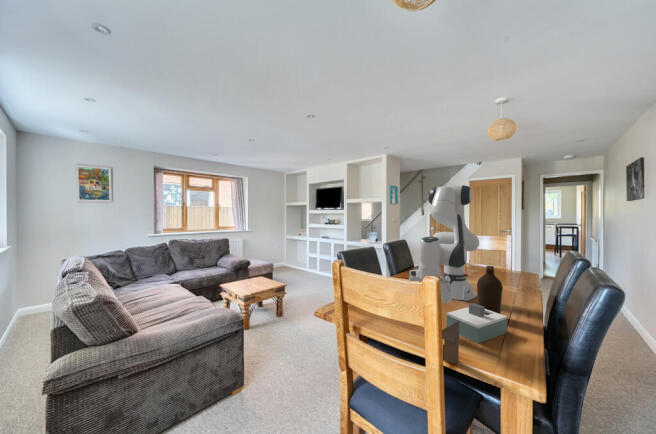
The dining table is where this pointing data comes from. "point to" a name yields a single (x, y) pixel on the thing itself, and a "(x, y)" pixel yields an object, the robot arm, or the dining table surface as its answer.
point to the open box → (479, 330)
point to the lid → (476, 316)
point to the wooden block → (451, 343)
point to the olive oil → (490, 291)
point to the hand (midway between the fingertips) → (428, 306)
